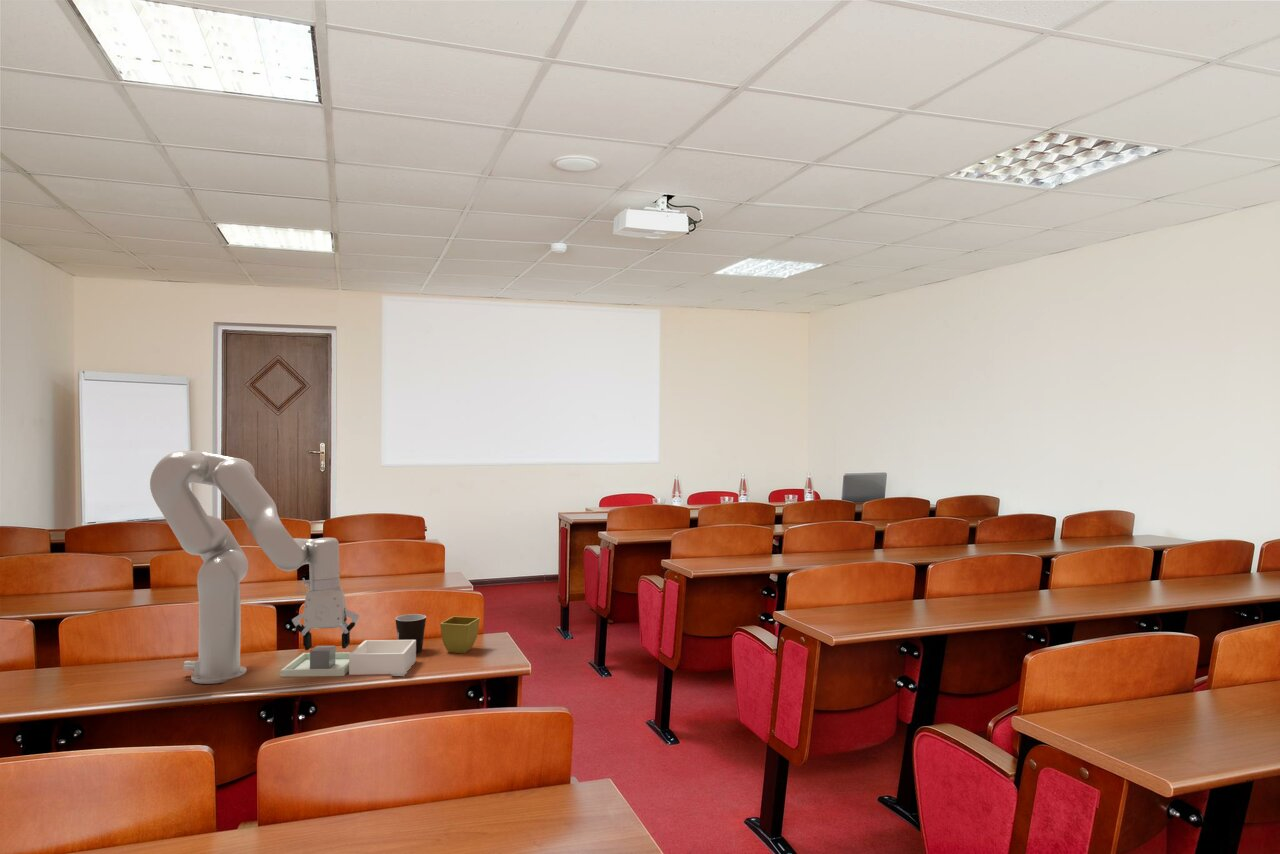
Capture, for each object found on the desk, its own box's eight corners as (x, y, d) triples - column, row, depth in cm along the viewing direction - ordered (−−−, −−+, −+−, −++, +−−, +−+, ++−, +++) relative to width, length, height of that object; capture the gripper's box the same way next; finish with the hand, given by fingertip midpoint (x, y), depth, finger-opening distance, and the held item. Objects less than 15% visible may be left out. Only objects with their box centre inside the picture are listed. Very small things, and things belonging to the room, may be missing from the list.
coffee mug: (420, 656, 220) (421, 621, 220) (390, 656, 220) (391, 620, 220) (432, 645, 231) (432, 611, 232) (403, 645, 231) (404, 611, 232)
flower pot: (467, 656, 220) (467, 624, 220) (439, 654, 222) (439, 622, 222) (479, 647, 229) (480, 617, 229) (452, 646, 231) (452, 616, 231)
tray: (280, 679, 198) (280, 670, 198) (303, 661, 214) (303, 652, 214) (343, 678, 199) (343, 669, 199) (361, 660, 215) (362, 652, 215)
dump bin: (348, 677, 200) (349, 654, 200) (364, 661, 214) (364, 640, 214) (403, 676, 201) (404, 653, 201) (415, 661, 215) (416, 639, 215)
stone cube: (309, 669, 204) (310, 650, 204) (316, 664, 209) (316, 645, 209) (329, 669, 204) (329, 650, 204) (335, 664, 209) (335, 645, 209)
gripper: (286, 588, 202) (288, 653, 202) (353, 585, 204) (355, 650, 204) (297, 583, 210) (299, 645, 210) (361, 580, 211) (363, 642, 211)
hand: (326, 648), depth 207 cm, fingers open, 9 cm apart
